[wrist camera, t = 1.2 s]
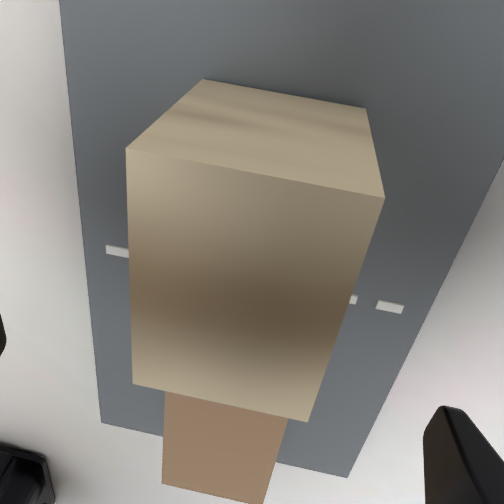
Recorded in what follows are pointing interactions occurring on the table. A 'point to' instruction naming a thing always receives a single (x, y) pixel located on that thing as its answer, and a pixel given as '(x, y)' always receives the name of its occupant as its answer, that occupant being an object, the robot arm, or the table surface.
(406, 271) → the board
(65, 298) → the table surface
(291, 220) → the stub
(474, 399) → the table surface
